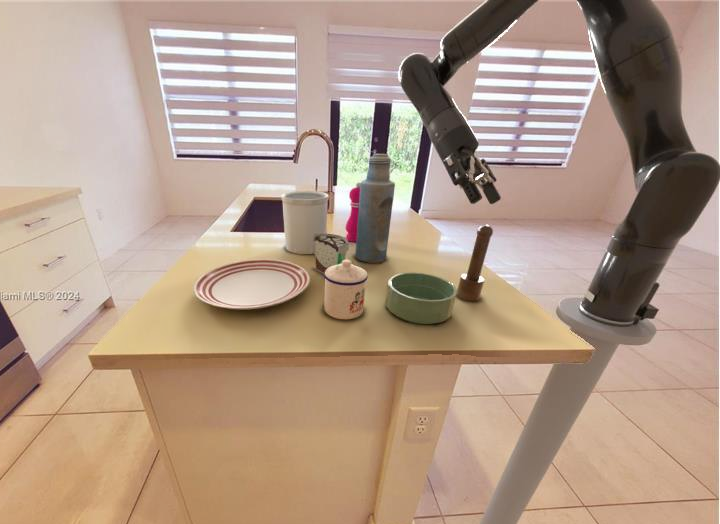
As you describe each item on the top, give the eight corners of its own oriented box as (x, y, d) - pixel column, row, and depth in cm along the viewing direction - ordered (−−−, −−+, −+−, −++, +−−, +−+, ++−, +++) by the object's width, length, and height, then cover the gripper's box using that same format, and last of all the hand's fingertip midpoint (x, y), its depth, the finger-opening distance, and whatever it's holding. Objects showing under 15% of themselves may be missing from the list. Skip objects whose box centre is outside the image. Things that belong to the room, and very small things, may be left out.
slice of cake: (356, 277, 85) (359, 242, 81) (338, 282, 82) (340, 246, 77) (329, 263, 94) (330, 230, 89) (312, 267, 91) (312, 233, 86)
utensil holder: (295, 258, 97) (294, 200, 89) (276, 244, 109) (274, 192, 100) (335, 251, 104) (337, 196, 96) (313, 238, 115) (314, 189, 107)
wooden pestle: (475, 292, 79) (495, 222, 70) (481, 302, 74) (503, 229, 66) (454, 290, 79) (471, 221, 71) (458, 300, 75) (477, 227, 67)
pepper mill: (366, 238, 117) (372, 181, 108) (361, 243, 111) (366, 184, 102) (348, 235, 120) (352, 180, 111) (342, 240, 114) (345, 182, 105)
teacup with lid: (356, 324, 64) (360, 272, 59) (316, 314, 68) (317, 264, 62) (372, 300, 74) (377, 253, 69) (337, 292, 77) (339, 247, 72)
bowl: (444, 297, 76) (449, 275, 73) (457, 330, 63) (464, 304, 61) (384, 292, 78) (387, 270, 75) (386, 323, 65) (389, 297, 62)
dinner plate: (183, 324, 63) (180, 310, 62) (205, 271, 87) (203, 260, 86) (317, 315, 67) (317, 301, 66) (303, 266, 91) (303, 256, 90)
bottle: (371, 265, 93) (382, 155, 79) (348, 256, 100) (355, 153, 86) (392, 259, 98) (406, 154, 84) (369, 250, 105) (379, 152, 91)
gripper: (449, 117, 60) (488, 189, 57) (483, 128, 69) (519, 191, 65) (419, 146, 66) (453, 212, 62) (453, 153, 74) (485, 211, 71)
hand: (487, 201), depth 64 cm, fingers open, 8 cm apart
